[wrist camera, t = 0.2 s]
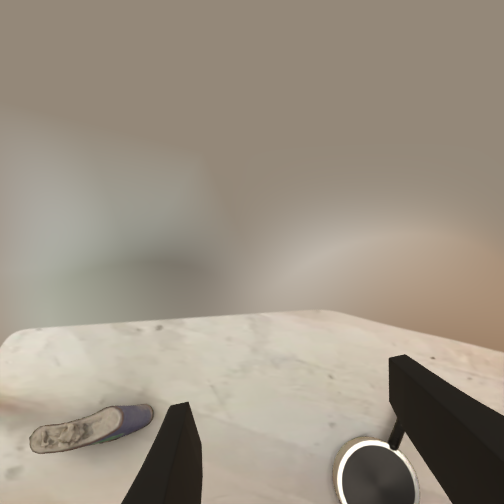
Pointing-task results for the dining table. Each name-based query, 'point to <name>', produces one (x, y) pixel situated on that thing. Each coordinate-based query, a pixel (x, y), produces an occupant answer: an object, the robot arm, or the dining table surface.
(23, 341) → the dining table surface
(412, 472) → the steel pan
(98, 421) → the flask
